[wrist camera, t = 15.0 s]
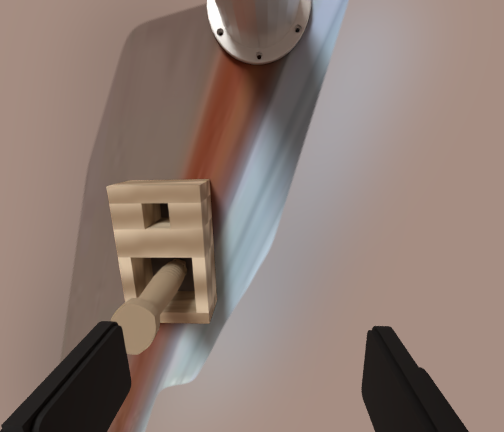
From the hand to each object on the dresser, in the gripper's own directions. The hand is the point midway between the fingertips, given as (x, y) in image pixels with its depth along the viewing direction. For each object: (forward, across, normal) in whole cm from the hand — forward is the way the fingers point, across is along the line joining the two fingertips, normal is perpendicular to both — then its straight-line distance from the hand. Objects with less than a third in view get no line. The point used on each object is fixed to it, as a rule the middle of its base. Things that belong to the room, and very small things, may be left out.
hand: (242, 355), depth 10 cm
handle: (+30, +13, +11) cm, 35 cm away
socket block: (+30, +14, +7) cm, 34 cm away
